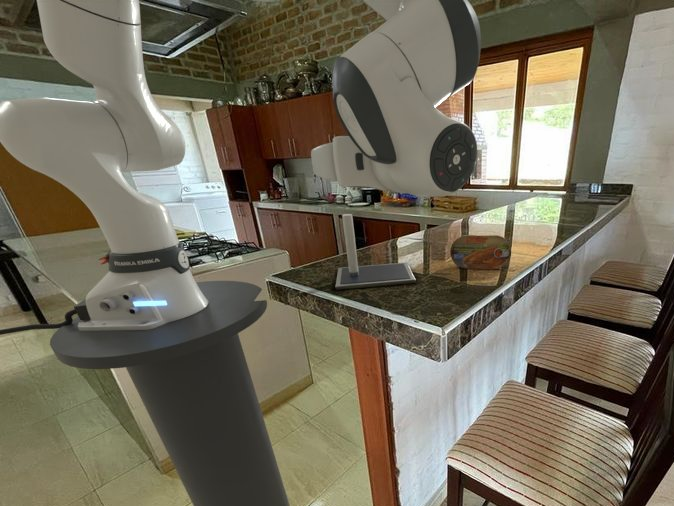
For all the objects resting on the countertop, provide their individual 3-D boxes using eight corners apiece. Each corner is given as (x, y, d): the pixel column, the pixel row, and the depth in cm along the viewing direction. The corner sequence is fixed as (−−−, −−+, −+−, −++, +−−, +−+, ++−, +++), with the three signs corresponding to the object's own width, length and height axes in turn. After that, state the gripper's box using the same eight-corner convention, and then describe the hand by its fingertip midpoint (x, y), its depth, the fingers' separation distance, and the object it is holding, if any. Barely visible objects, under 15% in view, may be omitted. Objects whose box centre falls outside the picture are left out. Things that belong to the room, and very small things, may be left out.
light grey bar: (349, 276, 79) (341, 215, 73) (349, 273, 81) (342, 214, 75) (358, 275, 80) (352, 215, 74) (358, 272, 82) (352, 213, 76)
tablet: (335, 290, 74) (335, 285, 74) (338, 271, 87) (338, 267, 86) (415, 283, 77) (415, 278, 76) (407, 265, 89) (407, 261, 89)
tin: (449, 268, 86) (450, 235, 83) (451, 264, 89) (452, 232, 86) (509, 270, 83) (512, 236, 79) (509, 266, 86) (512, 234, 82)
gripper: (452, 136, 53) (410, 140, 64) (323, 136, 44) (300, 141, 55) (451, 179, 55) (411, 176, 66) (330, 187, 46) (307, 182, 57)
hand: (360, 160), depth 60 cm, fingers open, 8 cm apart
